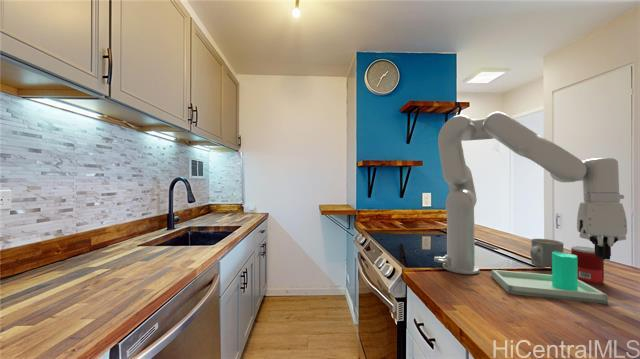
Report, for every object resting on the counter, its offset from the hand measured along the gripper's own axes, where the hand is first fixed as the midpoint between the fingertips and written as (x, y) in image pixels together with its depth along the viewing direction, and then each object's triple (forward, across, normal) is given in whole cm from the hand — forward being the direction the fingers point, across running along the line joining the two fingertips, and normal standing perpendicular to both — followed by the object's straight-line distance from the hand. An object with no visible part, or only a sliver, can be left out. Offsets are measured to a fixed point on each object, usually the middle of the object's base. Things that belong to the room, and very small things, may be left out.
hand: (602, 258), depth 80 cm
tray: (+11, +16, 0) cm, 19 cm away
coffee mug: (+11, +3, -28) cm, 30 cm away
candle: (+10, +10, 0) cm, 14 cm away
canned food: (+11, -3, -13) cm, 18 cm away
